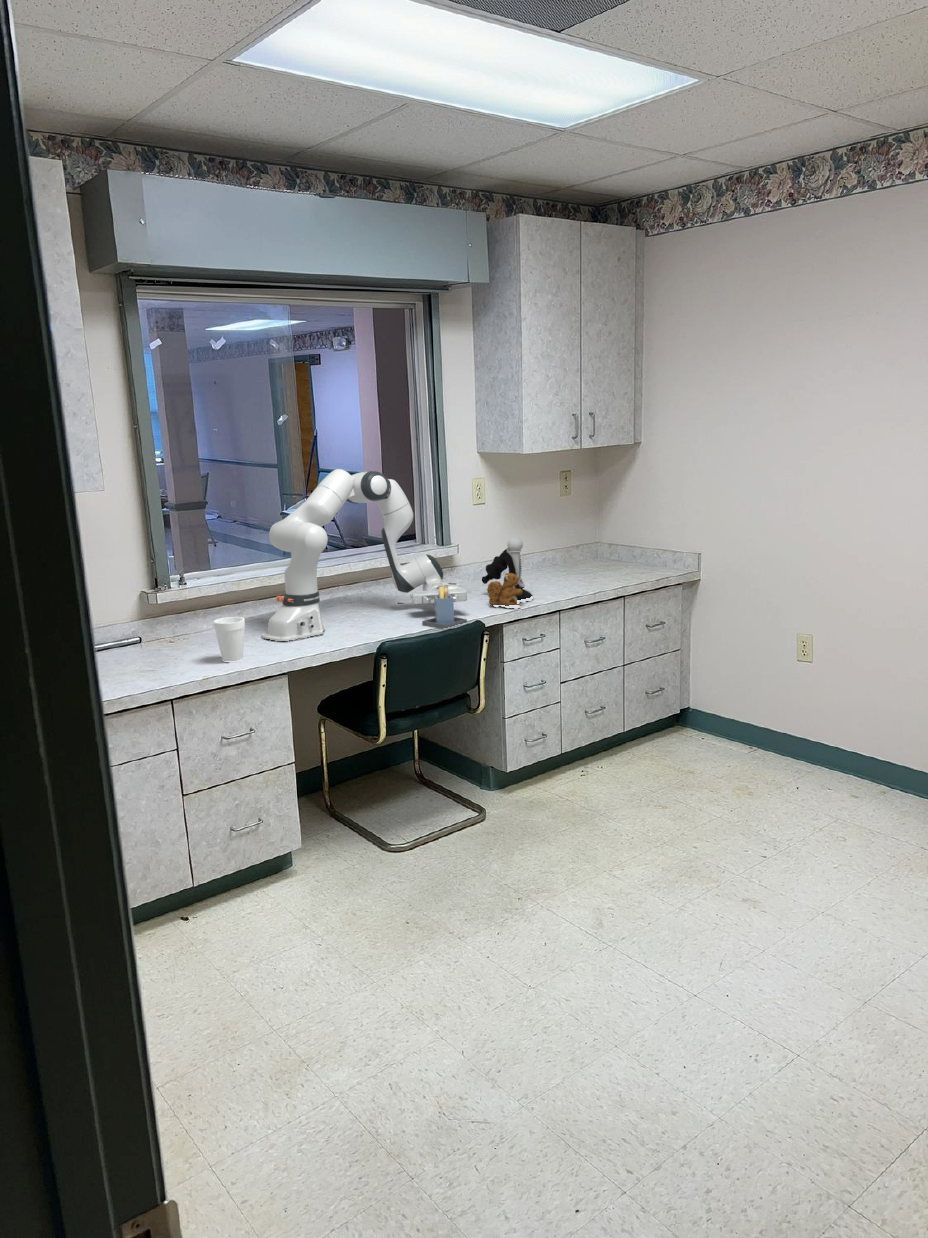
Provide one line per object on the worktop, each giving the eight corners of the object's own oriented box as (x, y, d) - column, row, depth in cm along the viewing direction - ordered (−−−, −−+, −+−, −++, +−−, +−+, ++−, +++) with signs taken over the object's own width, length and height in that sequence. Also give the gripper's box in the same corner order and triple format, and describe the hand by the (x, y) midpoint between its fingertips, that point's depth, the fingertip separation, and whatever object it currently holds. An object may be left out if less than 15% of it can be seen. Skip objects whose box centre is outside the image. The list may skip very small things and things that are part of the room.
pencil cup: (437, 627, 323) (436, 599, 321) (435, 623, 329) (434, 595, 327) (454, 625, 324) (453, 598, 322) (451, 622, 330) (450, 594, 328)
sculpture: (518, 604, 358) (517, 541, 353) (471, 598, 373) (469, 537, 367) (541, 598, 370) (540, 536, 364) (494, 592, 384) (492, 532, 379)
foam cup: (250, 656, 295) (247, 616, 292) (245, 663, 286) (241, 623, 283) (220, 657, 295) (217, 617, 292) (214, 664, 286) (210, 624, 283)
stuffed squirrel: (521, 609, 350) (521, 575, 347) (485, 609, 352) (484, 575, 349) (524, 604, 359) (523, 570, 356) (488, 604, 362) (487, 571, 359)
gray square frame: (445, 631, 319) (445, 625, 319) (422, 627, 326) (422, 621, 326) (467, 625, 327) (466, 619, 327) (443, 621, 334) (443, 615, 334)
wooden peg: (447, 622, 326) (446, 586, 323) (444, 622, 327) (442, 586, 324) (450, 621, 327) (448, 585, 324) (447, 621, 328) (445, 585, 325)
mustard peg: (442, 623, 324) (441, 587, 321) (439, 623, 325) (438, 587, 322) (445, 623, 325) (444, 586, 322) (442, 622, 326) (441, 586, 323)
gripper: (409, 586, 342) (412, 593, 329) (463, 583, 345) (469, 590, 332) (409, 603, 344) (413, 611, 330) (463, 599, 347) (469, 607, 333)
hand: (441, 600), depth 331 cm, fingers open, 8 cm apart
